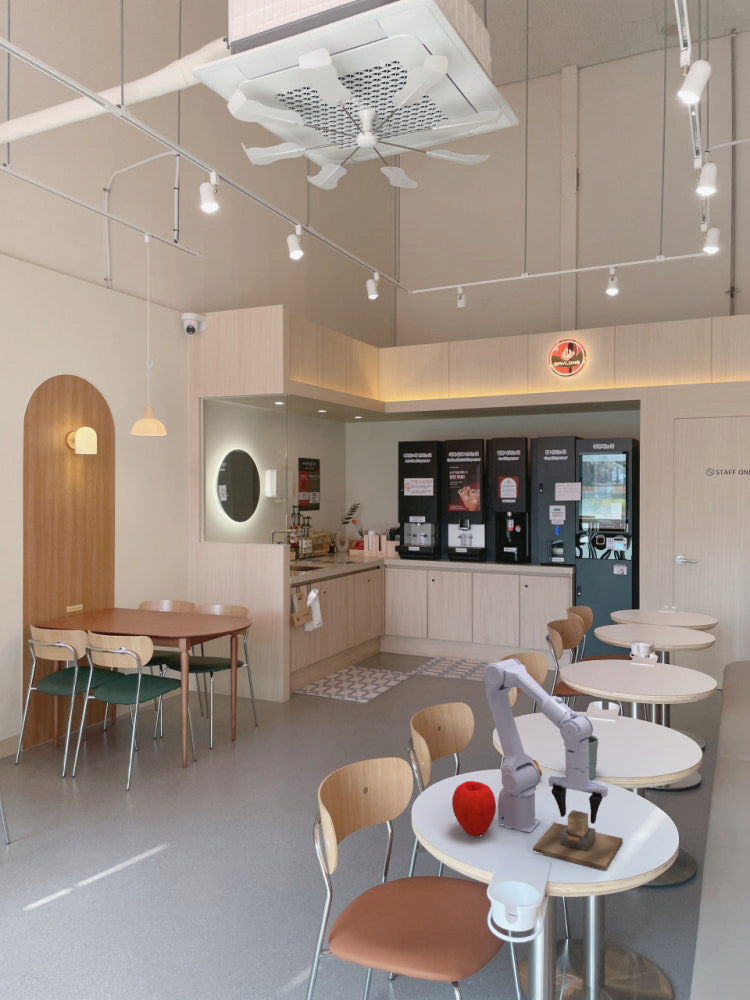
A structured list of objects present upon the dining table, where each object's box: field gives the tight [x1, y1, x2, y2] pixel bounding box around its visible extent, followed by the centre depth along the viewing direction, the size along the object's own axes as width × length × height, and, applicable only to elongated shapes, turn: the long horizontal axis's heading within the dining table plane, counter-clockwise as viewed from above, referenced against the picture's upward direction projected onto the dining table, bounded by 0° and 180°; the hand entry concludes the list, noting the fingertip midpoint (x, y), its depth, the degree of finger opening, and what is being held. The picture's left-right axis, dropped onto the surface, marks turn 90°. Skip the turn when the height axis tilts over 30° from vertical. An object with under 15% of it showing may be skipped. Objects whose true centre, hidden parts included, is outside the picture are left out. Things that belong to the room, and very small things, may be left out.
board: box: [532, 822, 624, 872], centre depth 190 cm, size 18×16×1 cm
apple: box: [451, 780, 497, 837], centre depth 199 cm, size 12×12×13 cm
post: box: [567, 809, 589, 837], centre depth 190 cm, size 4×4×7 cm
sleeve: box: [561, 824, 596, 852], centre depth 190 cm, size 7×7×3 cm
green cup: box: [587, 735, 599, 781], centre depth 236 cm, size 10×10×12 cm
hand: (578, 818), depth 190 cm, fingers open, 7 cm apart
